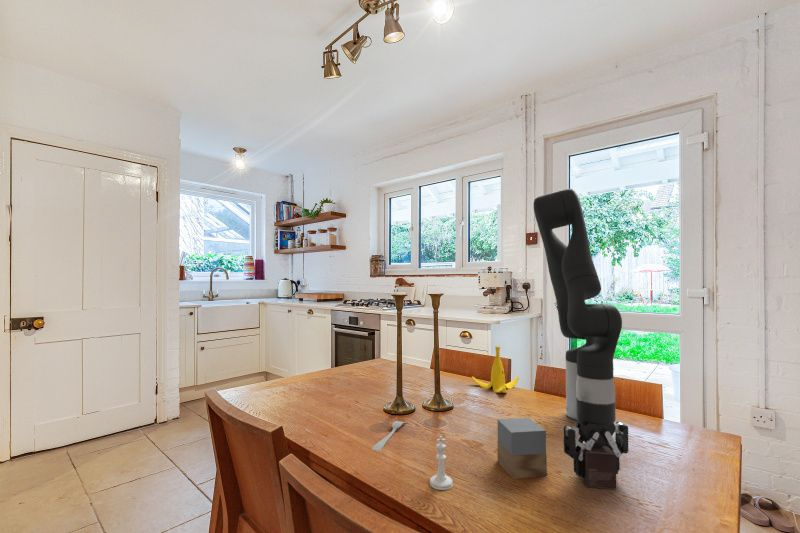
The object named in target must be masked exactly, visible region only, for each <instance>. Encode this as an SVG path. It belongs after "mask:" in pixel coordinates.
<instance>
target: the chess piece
mask: <svg viewBox="0 0 800 533" xmlns="http://www.w3.org/2000/svg"><path fill="white" fill-rule="evenodd" d="M436 442H437V444H436V445H435V446H436V451H437V454H436V455H435V458H436V460H438V466H437V473H436V474H435V475H433V476H431V477H430V479H429V485H430V487H431V488H433V489H435V490H439V491H446V490H450V489H451V488H452V487H453V486H454V483H453V479H452V478H451V476H448V475H447V474H446V472H445V471H446V470H445V464H444V463H445V462H444V461H445V460H446V459H447V456H446V455H445V454H444V453H445V451H446V447H447V446H446V443H445V444H444V443H443V442H446V439H445V438H443V435H440V436H439V438H437V439H436Z"/></svg>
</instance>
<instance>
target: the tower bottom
mask: <svg viewBox="0 0 800 533" xmlns="http://www.w3.org/2000/svg"><path fill="white" fill-rule="evenodd" d="M547 454H548V453H547V452H546V453H545V454H530V455H515V456H511V455H510V453H509V452H508V451H507V450H506V449H505V448H504V447H503V446H502V445H501V443H500V442H499V441H498V440H497V462H498V464H500V465H501V467H502V468H503V470H505V472H506V474H508V475H509V476H510V478H512V479H524V478H525V479H526V478H532V477H543V476H547V475H548V472H547V471H548V470H547V469H548V466H547V464H548V463H547V458H548V457H547Z"/></svg>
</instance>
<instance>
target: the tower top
mask: <svg viewBox="0 0 800 533" xmlns="http://www.w3.org/2000/svg"><path fill="white" fill-rule="evenodd" d="M497 441H499V442H500V443H501V445H502V446H503V447H504V448H505V449H506V450H507V451H508V452H509V453H510V455H511V456H515V455H530V454H545V453H547V430H546V429H545V428H543V427H542V426H541V425H539V424H538V423H537V422H535V421H534V420H533V419H532V418H531V417H520V418H498V419H497Z"/></svg>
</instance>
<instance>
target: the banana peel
mask: <svg viewBox="0 0 800 533" xmlns="http://www.w3.org/2000/svg"><path fill="white" fill-rule="evenodd" d="M494 348H495V358H494V361H493V364H492V367H491V373H490V382H489V383H487V382H486V383H485V382H483V381H481V380H478V378H477V379H476V378H475V376H471V379H472V381H474V383H476V384H477V385H478V386H479V387H481V388H483V389H487V390H489V389H491V388H492V390H493V392H494V393H495V394H498V393H499V394H501V393H503V394H506V393H507V394H508V392H507V389H508V390H510V389H513V388H514V387H515V386H516V385H517V383H518V381H519V379H520V377H519V376H516V377H515V378H514V379H513V380H511V381H509V382H507V383H506V376H505V375H506V374H505V370H504V365H503V362H502V360H501V355H500V349H501V346H499V345H496V346H494Z"/></svg>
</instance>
